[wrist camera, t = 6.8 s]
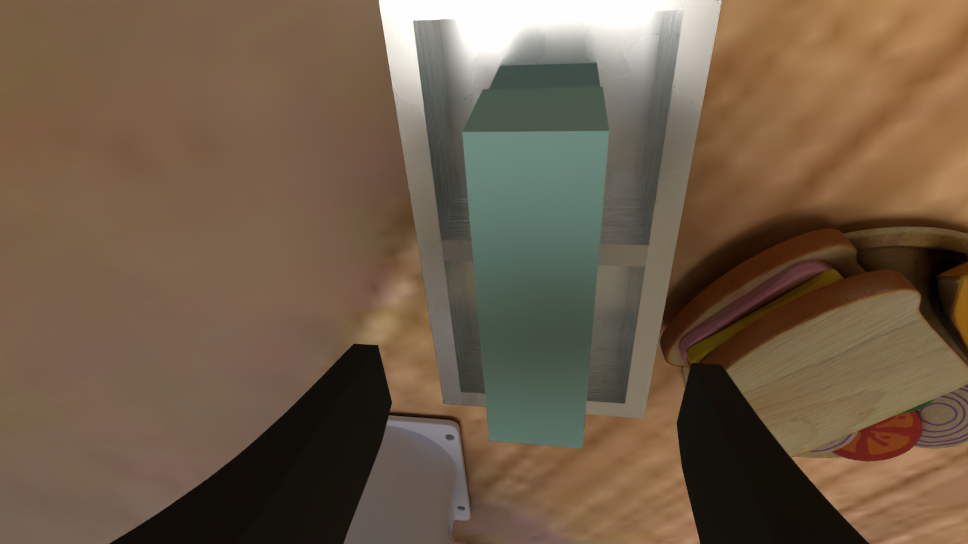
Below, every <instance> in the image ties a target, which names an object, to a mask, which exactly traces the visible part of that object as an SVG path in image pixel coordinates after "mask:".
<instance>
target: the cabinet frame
mask: <svg viewBox="0 0 968 544" xmlns="http://www.w3.org/2000/svg"><path fill="white" fill-rule="evenodd" d="M721 3H722V0H379V5H380V11H381V17H382V24H383V30H384V36H385V42H386V48H387V55H388V61H389V67H390V73H391V80H392V86H393V92H394V98H395V105H396V111H397V117H398V123H399V129H400V136H401V142H402V148H403V154H404V161H405V167H406V173H407V179H408V185H409V192H410V198H411V204H412V210H413V217H414V223H415V229H416V235H417V241H418V248H419V254H420V260H421V266H422V273H423V279H424V285H425V291H426V298H427V304H428V310H429V316H430V322H431V329H432V335H433V341H434V347H435V354H436V360H437V366H438V372H439V378H440V385H441V391H442V397H443V403H444V404H455V405H468V406H481V407H486V397H485V386H484V375H483V363H482V352H481V341H480V329H479V318H478V307H477V295H476V284H475V272H474V261H473V250H472V238H471V227H470V216H469V204H468V193H467V182H466V170H465V159H464V147H463V136H462V131H463V129H464V127H465V125H466V123H467V121H468V119H469V117H470V115H471V113H472V111H473V108H474V106H475V104H476V102H477V100H478V98H479V96H480V94H481V92H482V90H483V89H489V88H490V85H491V83H492V81H493V79H494V77H495V74H496V72H497V70H498V68H499V66H504V65H541V64H579V63H597V66H598V74H599V81H600V87H603V92H604V99H605V106H606V112H607V119H608V126H609V139H608V151H607V163H606V175H605V187H604V199H603V211H602V223H601V235H600V247H599V259H598V271H597V283H596V295H595V307H594V319H593V331H592V343H591V355H590V367H589V379H588V391H587V403H586V414H589V415H602V416H616V417H629V418H643V419H644V415H645V410H646V404H647V399H648V394H649V388H650V383H651V378H652V372H653V367H654V362H655V356H656V351H657V345H658V340H659V335H660V329H661V324H662V319H663V313H664V308H665V303H666V297H667V292H668V287H669V281H670V276H671V270H672V265H673V260H674V254H675V249H676V244H677V238H678V233H679V228H680V222H681V217H682V211H683V206H684V201H685V195H686V190H687V185H688V179H689V174H690V169H691V163H692V158H693V153H694V147H695V142H696V136H697V131H698V126H699V120H700V115H701V110H702V104H703V99H704V94H705V88H706V83H707V78H708V72H709V67H710V61H711V56H712V51H713V45H714V40H715V35H716V29H717V24H718V19H719V13H720V8H721Z"/></svg>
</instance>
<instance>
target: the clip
mask: <svg viewBox="0 0 968 544" xmlns="http://www.w3.org/2000/svg"><path fill="white" fill-rule="evenodd" d="M462 136H463V147H464V159H465V170H466V182H467V193H468V204H469V216H470V227H471V238H472V250H473V261H474V272H475V284H476V295H477V307H478V318H479V329H480V341H481V352H482V363H483V375H484V386H485V397H486V409H487V420H488V432H489V441H499V442H511V443H522V444H534V445H546V446H558V447H570V448H582V449H583V439H584V427H585V415H586V403H587V391H588V379H589V367H590V355H591V343H592V331H593V319H594V307H595V295H596V283H597V271H598V259H599V247H600V235H601V223H602V211H603V199H604V187H605V175H606V163H607V151H608V139H609V126H608V119H607V112H606V106H605V99H604V92H603V87H600V81H599V74H598V66H597V63H579V64H541V65H504V66H499V68H498V70H497V72H496V74H495V77H494V79H493V81H492V83H491V85H490V88H489V89H483V90H482V92H481V94H480V96H479V98H478V100H477V102H476V104H475V106H474V108H473V111H472V113H471V115H470V117H469V119H468V121H467V123H466V125H465V127H464V129H463V131H462Z"/></svg>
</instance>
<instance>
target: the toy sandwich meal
mask: <svg viewBox="0 0 968 544" xmlns="http://www.w3.org/2000/svg"><path fill="white" fill-rule="evenodd" d="M660 345H661V349H662V352H663V355H664V358H665V360H666V362H667V363H669V364H671V365H674V366H679V367H683V375H684V383H685V387H686V383H687V379H688V375H689V371H690V367H691V363H703V364H721V365H722V366H723V367H724V368H725V370H726V371H727V373H728V374H729V375H730V377H731V378H732V380H733V381H734V383H735V384H736V386H737V387H738V388H739V390H740V391H741V393H742V394H743V395H744V397H745V398H746V400H747V401H748V402H749V404H750V405H751V407H752V408H753V409H754V411H755V412H756V413H757V415H758V416H759V417H760V419H761V420H762V421H763V423H764V424H765V425H766V427H767V428H768V429H769V431H770V432H771V433H772V434H773V436H774V437H775V438H776V440H777V441H778V442H779V443H780V445H781V446H782V447H783V448H784V450H785V451H786V452H787V453H788V455H789V456H790V457H795V456H797V457H809V458H839V457H844V458H848V459H853V460H860V461H879V460H886V459H890V458H893V457H896V456H899V455H901V454H903V453H905V452H907V451H908V450H910V449H911V448H912V447H913V446H916V447H921V448H931V449H939V448H947V447H953V446H958V445H961V444H963V443H966V442H968V234H967V233H963V232H959V231H955V230H949V229H942V228H933V227H918V226H896V227H882V228H873V229H865V230H859V231H854V232H849V233H844V234H842V233H841V232H840V231H839V230H837V229H829V228H825V229H818V230H815V231H811V232H808V233H804V234H801V235H799V236H796V237H793V238H791V239H788V240H786V241H784V242H782V243H779V244H777V245H775V246H773V247H771V248H769V249H767V250H765V251H763V252H761V253H758V254H757V255H755V256H753V257H752V258H750V259H748V260H746V261H745V262H743V263H741V264H740V265H738V266H736V267H735V268H733V269H732V270H730V271H728V272H727V273H726V274H724V275H723V276H721V277H720V278H718V279H717V280H716V281H714V282H713V283H712V284H710V285H709V286H708V287H707V288H705V289H704V290H703V291H702V292H700V293H699V294H698V295H697V296H696V297H695V298H693V299H692V300H691V301H690V302H689V303H688V304H687V305H686V306H685V307H684V308H683V309H682V310H681V311H680V312H679V313H678V314H677V315H676V316H675V317H674V318H673V320H672V321H671V322H670V324H669V325H668V326H667V328H666V329H665V331H664V332H663V334H662V336H661V339H660Z"/></svg>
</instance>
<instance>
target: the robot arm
mask: <svg viewBox="0 0 968 544" xmlns="http://www.w3.org/2000/svg"><path fill="white" fill-rule="evenodd" d="M391 404H392V401H391V397H390V393H389V388H388V384H387V380H386V376H385V372H384V368H383V364H382V360H381V356H380V352H379V348H378V345H364V344H353V345H352V346H351V347H350V348H349V349H348V350H347V351H346V352H345V353H344V354H343V355H342V356H341V357H340V358H339V359H338V360H337V361H336V363H335V364H334V365H333V366H332V367H331V368H330V369H329V370H328V371H327V372H326V373H325V374H324V375H323V376H322V377H321V378H320V379H319V380H318V381H317V382H316V383H315V384H314V385H313V386H312V387H311V388H310V389H309V390H308V391H307V392H306V393H305V394H304V395H303V396H302V397H301V398H300V399H299V400H298V401H297V402H296V403H295V404H294V405H293V406H292V407H291V408H290V409H289V410H288V411H287V412H286V413H285V414H284V415H283V416H282V417H280V418H279V419H278V420H277V421H276V422H275V423H274V424H273V425H272V426H271V427H269V428H268V429H267V430H266V431H265V432H264V433H263V434H262V435H261V436H260V437H258V438H257V439H256V440H255V441H254V442H253V443H252V444H250V445H249V446H248V447H247V448H246V449H245V450H243V451H242V452H241V453H240V454H239V455H237V456H236V457H235V458H234V459H233V460H231V461H230V462H229V463H227V464H226V465H225V466H224V467H222V468H221V469H220V470H219V471H217V472H216V473H215V474H213V475H212V476H211V477H209V478H208V479H207V480H205V481H204V482H203V483H201V484H200V485H198V486H197V487H195V488H194V489H193V490H191V491H190V492H188V493H187V494H185V495H184V496H183V497H181V498H180V499H178V500H177V501H175V502H174V503H173V504H171V505H170V506H168V507H167V508H165V509H164V510H163V511H161V512H160V513H158V514H156V515H155V516H153V517H152V518H150V519H149V520H147V521H146V522H144V523H142V524H141V525H139V526H138V527H136V528H135V529H133V530H131V531H130V532H128V533H126V534H125V535H123V536H121V537H120V538H118V539H116V540H115V541H113V542H111V543H110V544H450V539H451V534H452V529H453V524H454V520H461V521H466V520H469V519H470V516H471V507H470V500H469V493H468V486H467V479H466V472H465V464H464V457H463V450H462V443H461V436H460V428H459V425H458V424H457V423H456V422H454V421H452V420H443V419H430V418H417V417H405V416H392V415H389V412H390V408H391ZM677 430H678V438H679V447H680V455H681V463H682V469H683V473H684V478H685V482H686V486H687V490H688V494H689V499H690V503H691V507H692V511H693V515H694V519H695V523H696V527H697V531H698V535H699V539H700V544H869V543H868V542H867V541H866V540H865V539H864V538H863V537H862V536H861V535H860V534H859V533H858V532H857V531H856V530H855V529H854V528H853V527H852V526H851V525H850V524H849V523H848V522H847V521H846V520H845V518H844V517H843V516H842V515H841V514H840V513H839V512H838V511H837V510H836V509H835V508H834V507H833V506H832V505H831V503H830V502H829V501H828V500H827V499H826V498H825V497H824V496H823V495H822V493H821V492H820V491H819V490H818V489H817V488H816V487H815V485H814V484H813V483H812V482H811V481H810V480H809V479H808V477H807V476H806V475H805V474H804V473H803V472H802V470H801V469H800V468H799V467H798V466H797V464H796V463H795V462H794V461H793V460H792V458H791V457H790V456H789V455H788V453H787V452H786V451H785V450H784V448H783V447H782V446H781V445H780V443H779V442H778V441H777V440H776V438H775V437H774V436H773V434H772V433H771V432H770V431H769V429H768V428H767V427H766V425H765V424H764V423H763V421H762V420H761V419H760V417H759V416H758V415H757V413H756V412H755V411H754V409H753V408H752V407H751V405H750V404H749V402H748V401H747V400H746V398H745V397H744V395H743V394H742V393H741V391H740V390H739V388H738V387H737V386H736V384H735V383H734V381H733V380H732V378H731V377H730V375H729V374H728V373H727V371H726V370H725V368H724V367H723V366H722V365H721V364H703V363H691V367H690V371H689V375H688V379H687V383H686V387H685V391H684V395H683V400H682V404H681V408H680V412H679V416H678V420H677Z"/></svg>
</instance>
